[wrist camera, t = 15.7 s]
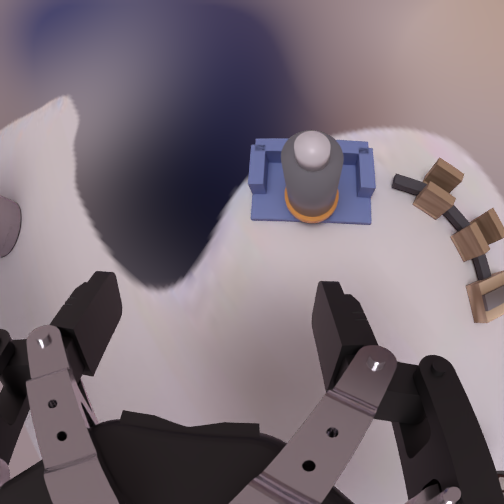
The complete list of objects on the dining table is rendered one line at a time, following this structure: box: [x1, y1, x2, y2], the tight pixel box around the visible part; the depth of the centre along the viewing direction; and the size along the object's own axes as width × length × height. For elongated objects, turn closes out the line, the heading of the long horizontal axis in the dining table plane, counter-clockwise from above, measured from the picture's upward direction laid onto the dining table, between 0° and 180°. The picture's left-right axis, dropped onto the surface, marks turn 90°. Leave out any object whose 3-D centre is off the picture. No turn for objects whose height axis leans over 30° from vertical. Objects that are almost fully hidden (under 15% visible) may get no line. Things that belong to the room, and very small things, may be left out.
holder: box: [248, 139, 376, 225], centre depth 29 cm, size 8×12×3 cm, turn 86°
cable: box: [392, 174, 491, 281], centre depth 27 cm, size 16×4×1 cm, turn 41°
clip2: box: [451, 208, 504, 262], centre depth 25 cm, size 4×3×4 cm
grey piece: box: [281, 130, 344, 223], centre depth 25 cm, size 5×5×11 cm
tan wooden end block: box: [466, 271, 504, 323], centre depth 24 cm, size 4×4×3 cm
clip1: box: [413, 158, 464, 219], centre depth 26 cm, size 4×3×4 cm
